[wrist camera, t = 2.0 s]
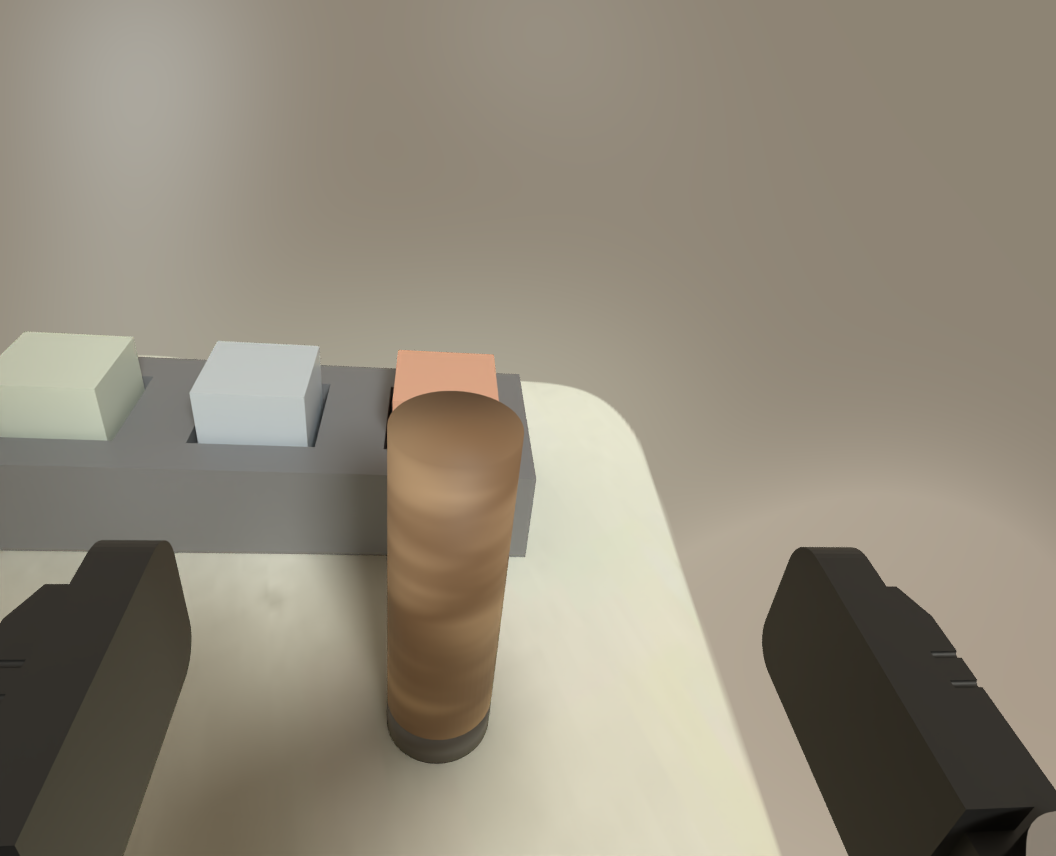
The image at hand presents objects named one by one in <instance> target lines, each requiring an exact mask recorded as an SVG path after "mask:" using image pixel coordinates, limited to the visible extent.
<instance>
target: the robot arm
mask: <svg viewBox="0 0 1056 856" xmlns="http://www.w3.org/2000/svg"><path fill="white" fill-rule="evenodd" d="M762 647H763V654H764V660H765V664H766V667H767V670H768V673H769V675H770V677H771V679H772V682H773V684H774V686H775V688H776V691H777V693H778V695H779V698H780V700H781V702H782V704H783V707H784V709H785V711H786V714H787V716H788V718H789V720H790V723H791V725H792V727H793V730H794V732H795V734H796V737H797V739H798V741H799V743H800V746H801V748H802V750H803V753H804V755H805V757H806V760H807V762H808V764H809V766H810V769H811V771H812V773H813V776H814V778H815V780H816V782H817V785H818V787H819V789H820V791H821V794H822V796H823V798H824V801H825V803H826V805H827V807H828V810H829V812H830V814H831V816H832V819H833V821H834V824H835V826H836V828H837V830H838V833H839V835H840V837H841V840H842V842H843V844H844V846H845V849H846V851H847V853H848V855H849V856H1056V790H1055V789H1054V787H1053V786H1052V784H1051V783H1050V782H1049V780H1048V779H1047V777H1046V776H1045V775H1044V773H1043V772H1042V770H1041V769H1040V767H1039V766H1038V765H1037V763H1036V762H1035V761H1034V759H1033V758H1032V756H1031V755H1030V753H1029V752H1028V751H1027V749H1026V748H1025V746H1024V745H1023V744H1022V742H1021V741H1020V739H1019V738H1018V737H1017V735H1016V734H1015V732H1014V731H1013V730H1012V728H1011V727H1010V725H1009V724H1008V723H1007V721H1006V720H1005V719H1004V717H1003V716H1002V714H1001V713H1000V712H999V710H998V709H997V707H996V706H995V704H994V703H993V702H992V700H991V699H990V697H989V696H988V694H987V693H986V692H985V690H984V689H983V688H982V687H978V686H977V683H976V681H977V679H976V678H975V676H974V675H973V673H972V672H971V671H970V669H969V668H968V666H967V665H966V664H965V662H964V661H963V659H962V658H957V656H956V650H955V648H954V647H953V645H952V644H951V643H950V641H949V640H948V638H947V637H946V635H945V634H944V633H943V631H942V630H941V628H940V627H939V626H938V625H937V623H936V622H935V620H934V619H933V617H932V616H931V615H930V614H928V613H927V612H926V611H925V610H924V609H922V608H921V607H920V606H919V605H918V604H916V603H915V602H914V601H913V600H912V599H910V598H909V597H908V596H907V595H906V594H905V593H903V592H902V591H901V590H900V589H899V588H897V587H886V585H885V584H884V582H883V581H882V580H881V578H880V576H879V575H878V573H877V572H876V570H875V569H874V568H873V566H872V564H871V563H870V562H869V560H868V559H867V557H866V556H865V555H864V554H863V553H862V552H861V551H860V550H858V549H856V548H851V547H846V548H845V547H836V548H835V547H800V548H798V549H796V550H795V551H794V552H793V554H792V555H791V557H790V559H789V562H788V564H787V567H786V570H785V572H784V575H783V578H782V580H781V582H780V585H779V587H778V590H777V592H776V595H775V598H774V600H773V603H772V605H771V608H770V611H769V613H768V616H767V618H766V621H765V624H764V628H763V635H762ZM190 653H191V626H190V621H189V616H188V612H187V608H186V603H185V599H184V594H183V590H182V585H181V581H180V577H179V572H178V568H177V563H176V559H175V555H174V551H173V548H172V546H171V544H170V543H169V542H168V541H165V540H100V541H97V542H96V543H95V544H94V545H93V546H92V547H91V548H90V550H89V551H88V553H87V555H86V556H85V558H84V560H83V561H82V563H81V565H80V567H79V568H78V570H77V572H76V574H75V575H74V577H73V579H72V580H71V582H70V584H45V585H43V586H42V587H41V588H40V589H39V590H37V591H36V592H35V593H34V594H33V595H31V596H30V597H29V598H28V599H27V600H25V601H24V602H23V603H22V604H20V605H19V606H18V607H17V608H16V609H14V610H13V611H12V612H11V613H10V614H8V615H7V616H6V617H5V618H4V619H3V620H2V621H1V623H0V856H123V855H124V852H125V849H126V846H127V843H128V840H129V837H130V835H131V832H132V829H133V826H134V823H135V820H136V817H137V815H138V812H139V809H140V806H141V803H142V800H143V797H144V795H145V792H146V789H147V786H148V783H149V780H150V777H151V775H152V772H153V769H154V766H155V763H156V760H157V757H158V755H159V752H160V749H161V746H162V743H163V740H164V737H165V735H166V732H167V729H168V726H169V723H170V720H171V717H172V714H173V712H174V709H175V706H176V703H177V700H178V697H179V694H180V692H181V689H182V686H183V683H184V680H185V677H186V674H187V670H188V666H189V660H190Z"/></svg>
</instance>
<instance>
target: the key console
mask: <svg viewBox="0 0 1056 856" xmlns="http://www.w3.org/2000/svg"><path fill="white" fill-rule="evenodd" d="M138 360H139V365H140V370H141V374H142V379H143V384H144V388H145V391H144V392H143V394H142V395H141V397H140V398H139V400H138V401H137V403H136V404H135V406H134V408H133V409H132V411H131V412H130V414H129V415H128V417H127V418H126V420H125V422H124V423H123V425H122V426H121V428H120V429H119V431H118V432H117V434H116V435H115V437H114V439H113V440H112V441H106V440H74V439H42V438H10V437H0V550H35V551H89V550H90V548H91V547H92V546H93V545H94V544H95V543H96V542H97V541H100V540H165V541H168V542H169V543H170V544H171V546H172V548H173V551H174V552H194V553H274V554H354V555H387V423H388V419H389V417H390V415H391V413H392V412H393V393H394V384H395V375H396V369H392V368H390V369H389V368H370V367H369V368H368V367H349V366H348V367H347V366H327V365H321V382H322V399H323V416H322V420H321V424H320V428H319V432H318V436H317V440H316V444H315V447H296V446H265V445H233V444H201V443H198V440H197V434H196V428H195V422H194V417H193V411H192V405H191V400H190V394H189V393H190V391H191V389H192V387H193V385H194V383H195V382H196V380H197V378H198V376H199V374H200V372H201V371H202V369H203V367H204V365H205V363H206V361H207V360H196V359H175V358H153V357H138ZM496 379H497V388H498V397H499V402H501V403H503V404H505V405H506V406H508V407H509V408H510V409H512V410H513V411H514V412H515V413H516V414H517V415H518V417H519V418H520V420H521V422H522V424H523V427H524V440H523V448H522V456H521V464H520V472H519V480H518V488H517V496H516V504H515V512H514V520H513V528H512V536H511V544H510V552H509V556H513V557H525V554H526V547H527V540H528V533H529V526H530V519H531V512H532V505H533V498H534V490H535V483H536V475H535V469H534V463H533V457H532V451H531V444H530V438H529V432H528V426H527V420H526V414H525V407H524V401H523V395H522V389H521V383H520V377H519V374H500V373H496Z"/></svg>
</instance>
